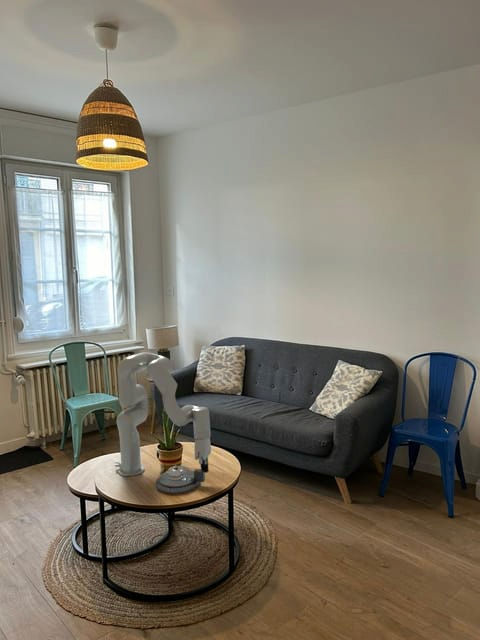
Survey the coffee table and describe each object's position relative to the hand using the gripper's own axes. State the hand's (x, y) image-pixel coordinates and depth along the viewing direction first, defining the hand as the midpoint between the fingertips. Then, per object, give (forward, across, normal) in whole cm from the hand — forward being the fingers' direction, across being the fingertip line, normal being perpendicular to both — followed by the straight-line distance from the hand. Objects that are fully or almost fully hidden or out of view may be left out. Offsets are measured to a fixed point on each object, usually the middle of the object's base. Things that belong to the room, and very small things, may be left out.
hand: (204, 471), depth 222 cm
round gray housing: (+3, +5, -11) cm, 12 cm away
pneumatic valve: (+5, -11, -23) cm, 26 cm away
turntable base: (+5, +4, -12) cm, 14 cm away
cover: (+1, +5, -12) cm, 13 cm away
